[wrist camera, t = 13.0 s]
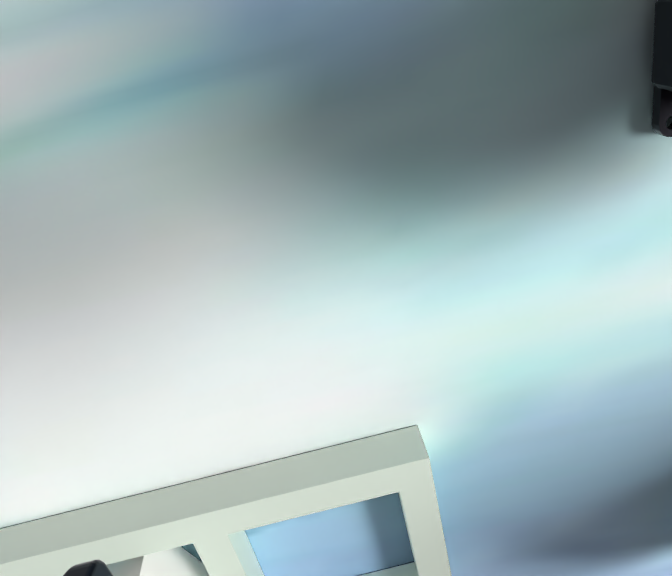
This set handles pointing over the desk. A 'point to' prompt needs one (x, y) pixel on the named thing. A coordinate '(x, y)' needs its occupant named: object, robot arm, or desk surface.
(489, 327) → the desk surface
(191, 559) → the white upright block
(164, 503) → the socket board
